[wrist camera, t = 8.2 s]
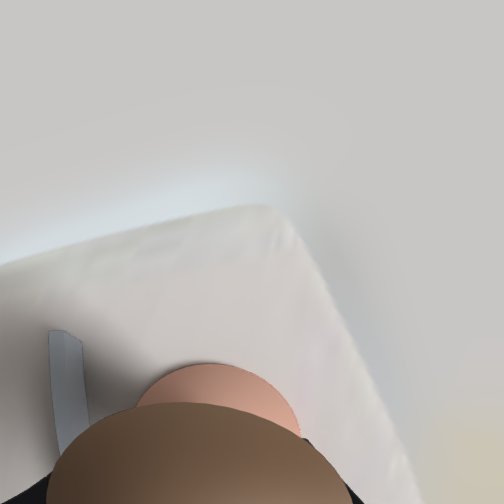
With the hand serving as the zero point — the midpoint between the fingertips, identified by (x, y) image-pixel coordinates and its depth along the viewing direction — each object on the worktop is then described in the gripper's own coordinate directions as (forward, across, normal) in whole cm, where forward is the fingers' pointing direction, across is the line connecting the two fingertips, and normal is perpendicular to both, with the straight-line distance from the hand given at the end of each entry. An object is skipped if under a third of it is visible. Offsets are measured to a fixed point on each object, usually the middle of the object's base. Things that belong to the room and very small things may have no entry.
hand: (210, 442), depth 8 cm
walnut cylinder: (+4, 0, +6) cm, 7 cm away
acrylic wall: (+6, +9, +10) cm, 14 cm away
